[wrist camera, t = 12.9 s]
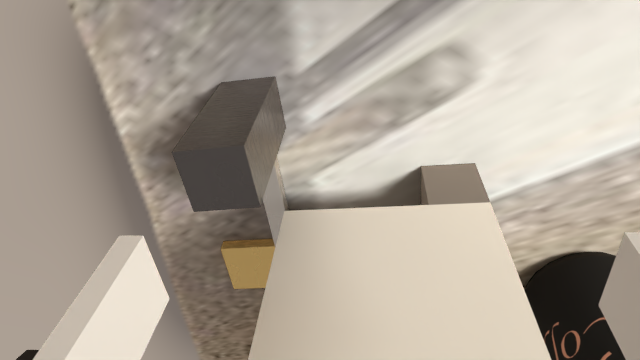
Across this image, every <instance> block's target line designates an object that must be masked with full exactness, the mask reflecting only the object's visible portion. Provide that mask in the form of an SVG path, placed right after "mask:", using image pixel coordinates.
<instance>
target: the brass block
mask: <svg viewBox="0 0 640 360" xmlns="http://www.w3.org/2000/svg"><path fill="white" fill-rule="evenodd" d="M274 251H275V244H274V241H273V239H259V240H239V241H224V242H223V244H222V247H221V252H222V255H223V258H224V261H225V264H226V267H227V270H228V273H229V276H230V279H231V282H232V285H233V288H234V289H248V288H266V284H267V280H268V275H269V271H270V267H271V263H272V259H273V255H274Z"/></svg>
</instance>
